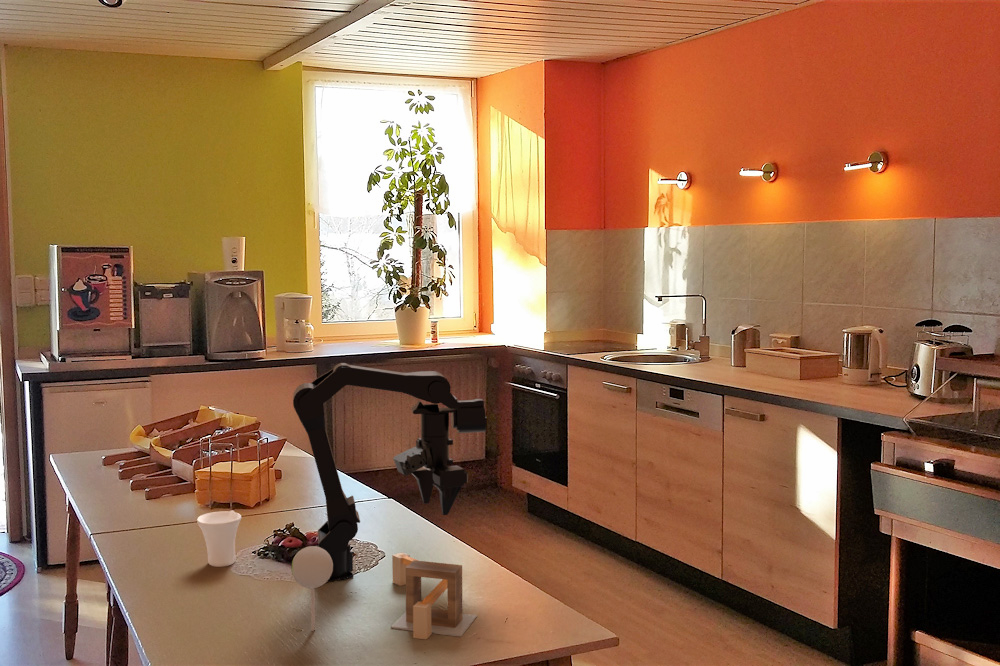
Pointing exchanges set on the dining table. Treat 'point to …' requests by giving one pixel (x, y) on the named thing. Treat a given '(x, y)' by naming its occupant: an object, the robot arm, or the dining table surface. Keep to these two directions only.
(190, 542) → the dining table surface
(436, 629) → the mat
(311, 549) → the lollipop
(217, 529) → the cup
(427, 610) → the rail
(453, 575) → the brown rectangular frame
